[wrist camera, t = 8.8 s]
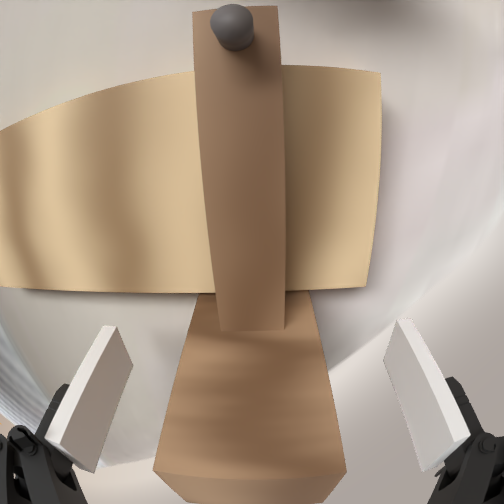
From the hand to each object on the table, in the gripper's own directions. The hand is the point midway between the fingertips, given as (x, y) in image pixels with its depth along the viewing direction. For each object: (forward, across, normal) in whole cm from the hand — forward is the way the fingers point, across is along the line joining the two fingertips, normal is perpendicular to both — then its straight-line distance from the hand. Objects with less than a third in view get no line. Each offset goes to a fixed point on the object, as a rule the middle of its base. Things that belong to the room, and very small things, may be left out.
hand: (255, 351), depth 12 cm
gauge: (+3, 0, +5) cm, 6 cm away
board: (+3, -6, +7) cm, 10 cm away
